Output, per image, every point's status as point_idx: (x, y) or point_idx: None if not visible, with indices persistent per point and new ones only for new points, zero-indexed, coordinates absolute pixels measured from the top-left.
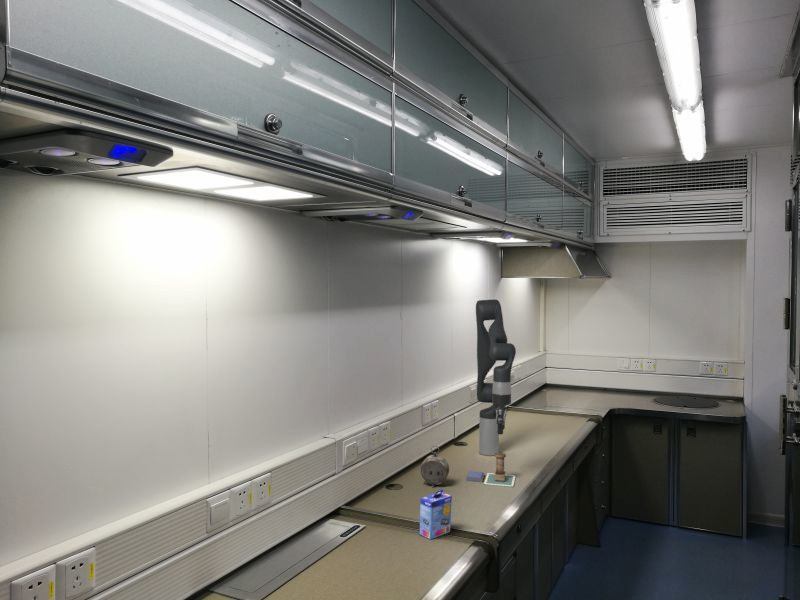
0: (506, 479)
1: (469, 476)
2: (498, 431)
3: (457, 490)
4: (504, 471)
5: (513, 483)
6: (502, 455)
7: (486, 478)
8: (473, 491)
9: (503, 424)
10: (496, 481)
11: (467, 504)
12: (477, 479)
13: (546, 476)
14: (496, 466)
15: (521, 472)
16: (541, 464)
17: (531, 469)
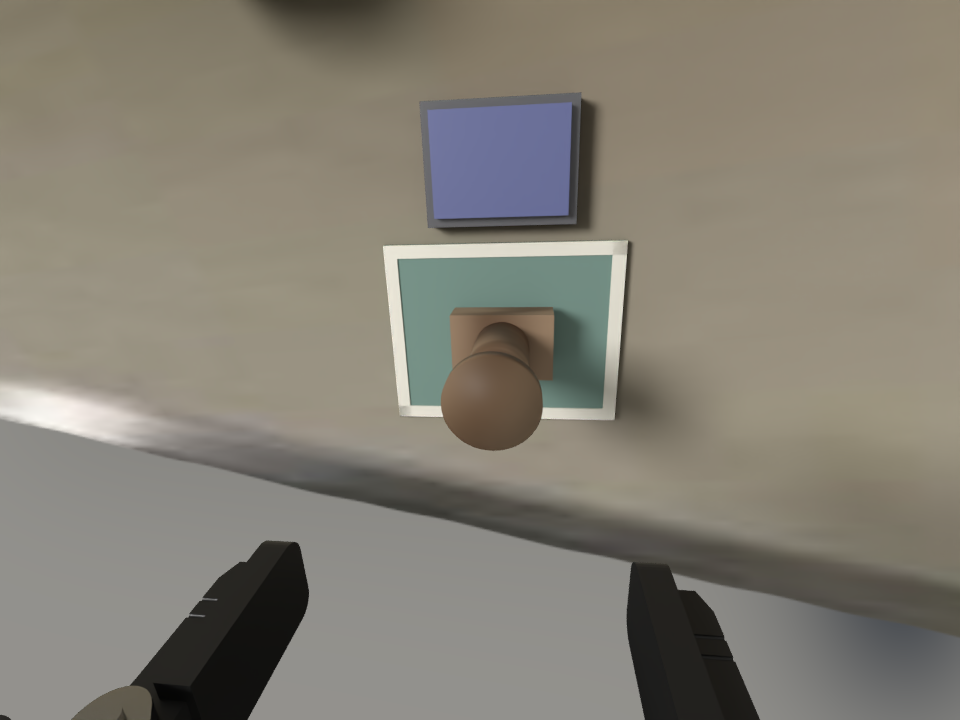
0: None
1: (428, 126)
2: (215, 586)
3: (205, 86)
4: (551, 373)
5: None
6: (458, 424)
7: (496, 248)
8: (236, 198)
9: (646, 700)
10: None
11: (23, 200)
12: (427, 193)
13: None
14: (485, 339)
15: (704, 447)
16: (905, 553)
17: (780, 499)
